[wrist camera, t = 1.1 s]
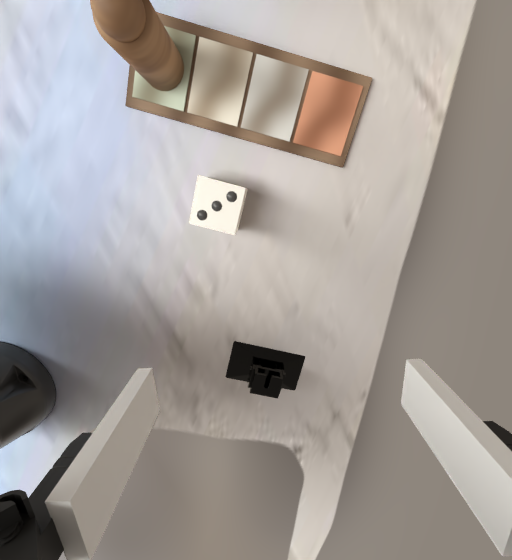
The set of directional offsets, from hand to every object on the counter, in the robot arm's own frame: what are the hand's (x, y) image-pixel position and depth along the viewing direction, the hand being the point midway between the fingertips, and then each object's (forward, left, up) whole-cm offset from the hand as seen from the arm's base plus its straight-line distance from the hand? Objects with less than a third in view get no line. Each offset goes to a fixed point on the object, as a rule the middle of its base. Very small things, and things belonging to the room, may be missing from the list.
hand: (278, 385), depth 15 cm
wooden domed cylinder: (-16, +19, -22) cm, 33 cm away
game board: (-7, +19, -23) cm, 30 cm away
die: (-7, +7, -23) cm, 25 cm away
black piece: (+4, -14, -23) cm, 28 cm away
